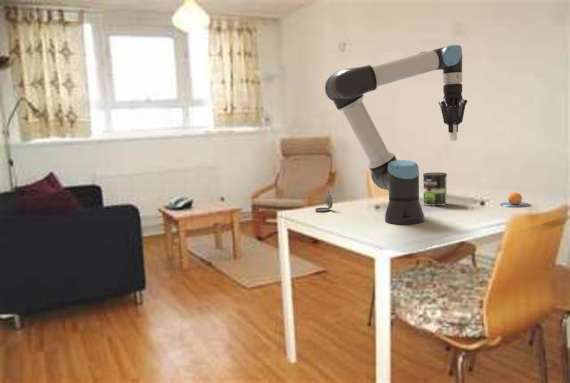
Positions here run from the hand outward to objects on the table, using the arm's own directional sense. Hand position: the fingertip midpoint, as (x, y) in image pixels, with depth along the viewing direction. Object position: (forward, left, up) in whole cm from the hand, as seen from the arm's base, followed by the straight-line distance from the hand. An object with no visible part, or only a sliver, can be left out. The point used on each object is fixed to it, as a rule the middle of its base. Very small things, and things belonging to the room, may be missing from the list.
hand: (453, 140), depth 208 cm
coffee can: (+4, +12, -30) cm, 32 cm away
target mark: (+20, -17, -29) cm, 39 cm away
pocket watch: (-35, +44, -30) cm, 64 cm away
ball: (+20, -17, -27) cm, 37 cm away
